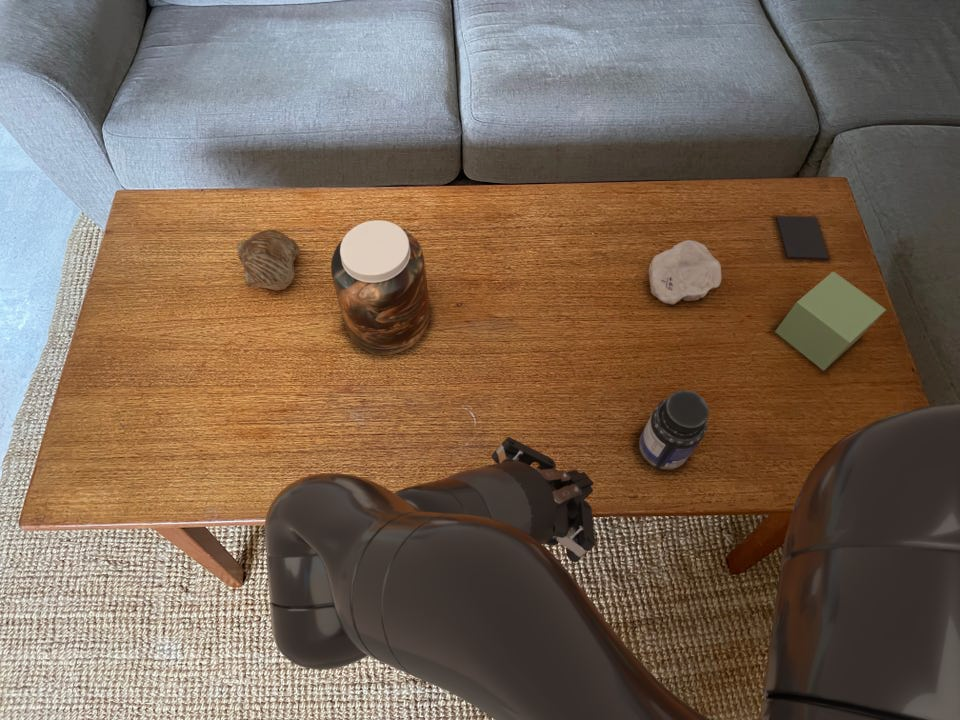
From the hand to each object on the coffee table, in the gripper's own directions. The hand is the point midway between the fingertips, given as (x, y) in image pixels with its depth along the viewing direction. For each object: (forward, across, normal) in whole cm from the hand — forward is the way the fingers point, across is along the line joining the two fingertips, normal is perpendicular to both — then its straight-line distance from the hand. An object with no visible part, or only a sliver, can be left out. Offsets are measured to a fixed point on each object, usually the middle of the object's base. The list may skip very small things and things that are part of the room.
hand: (583, 483), depth 65 cm
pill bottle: (+19, 0, -2) cm, 19 cm away
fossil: (+33, +17, -16) cm, 41 cm away
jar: (+6, +36, +10) cm, 38 cm away
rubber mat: (+48, +13, -32) cm, 59 cm away
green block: (+39, 0, -23) cm, 46 cm away
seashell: (0, +52, +16) cm, 55 cm away
